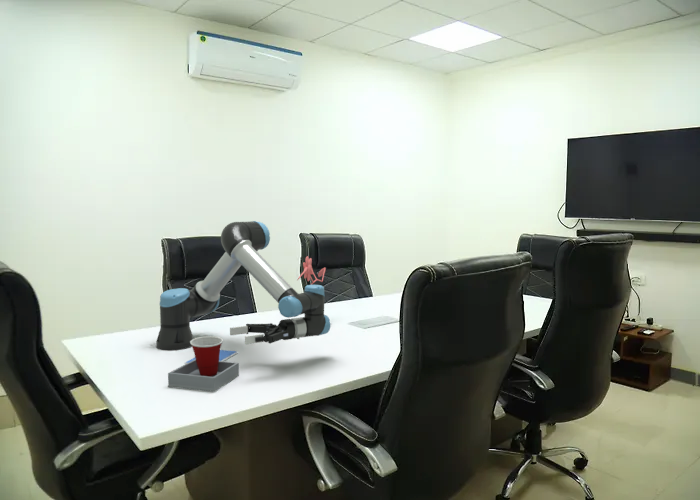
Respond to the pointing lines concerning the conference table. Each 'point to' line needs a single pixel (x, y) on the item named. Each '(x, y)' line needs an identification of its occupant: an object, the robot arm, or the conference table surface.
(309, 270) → the figurine
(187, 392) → the conference table surface
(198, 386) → the bin
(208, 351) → the plastic cup
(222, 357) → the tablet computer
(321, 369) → the conference table surface
